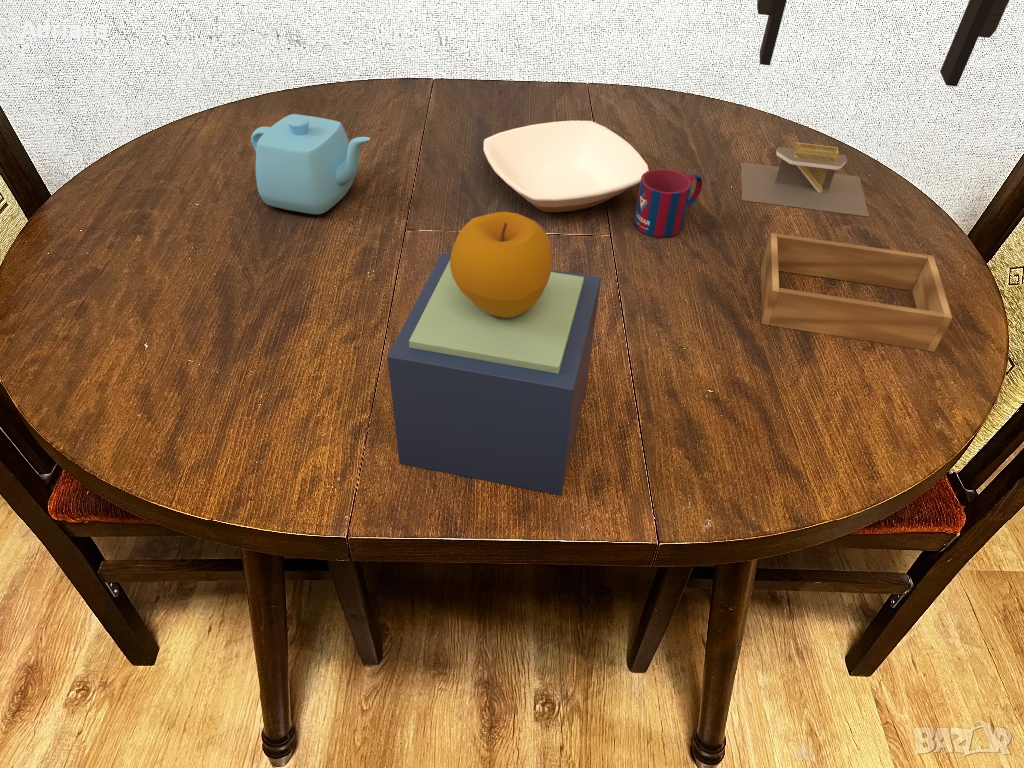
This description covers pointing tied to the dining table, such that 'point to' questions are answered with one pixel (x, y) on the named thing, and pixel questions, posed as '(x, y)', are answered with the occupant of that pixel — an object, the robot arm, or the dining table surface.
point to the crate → (490, 404)
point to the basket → (851, 314)
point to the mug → (664, 201)
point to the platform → (805, 182)
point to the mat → (500, 326)
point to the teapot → (305, 163)
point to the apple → (502, 263)
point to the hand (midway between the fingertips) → (854, 69)
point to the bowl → (565, 164)
